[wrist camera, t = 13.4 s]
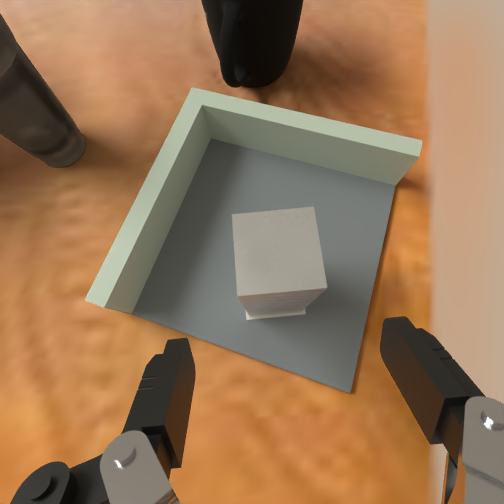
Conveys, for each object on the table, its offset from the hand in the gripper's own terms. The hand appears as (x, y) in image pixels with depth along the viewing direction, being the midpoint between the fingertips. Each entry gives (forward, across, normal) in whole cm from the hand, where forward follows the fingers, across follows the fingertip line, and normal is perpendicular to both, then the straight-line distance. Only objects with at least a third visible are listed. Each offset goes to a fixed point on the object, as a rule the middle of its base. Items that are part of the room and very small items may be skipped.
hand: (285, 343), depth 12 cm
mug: (+27, -1, -11) cm, 29 cm away
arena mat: (+14, 0, +1) cm, 14 cm away
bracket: (+12, 0, +3) cm, 12 cm away
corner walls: (+14, 0, +1) cm, 14 cm away
